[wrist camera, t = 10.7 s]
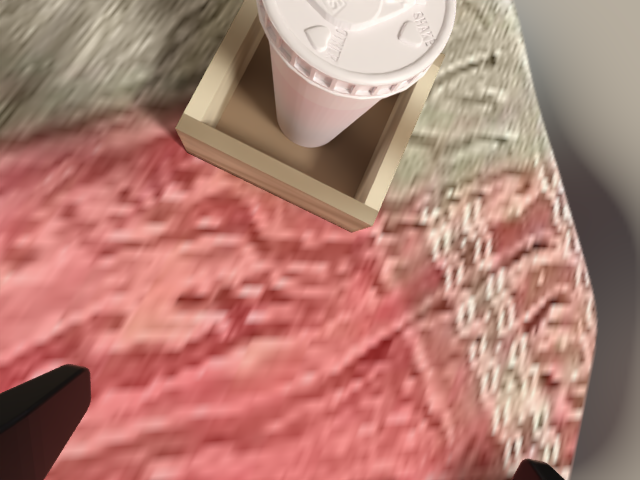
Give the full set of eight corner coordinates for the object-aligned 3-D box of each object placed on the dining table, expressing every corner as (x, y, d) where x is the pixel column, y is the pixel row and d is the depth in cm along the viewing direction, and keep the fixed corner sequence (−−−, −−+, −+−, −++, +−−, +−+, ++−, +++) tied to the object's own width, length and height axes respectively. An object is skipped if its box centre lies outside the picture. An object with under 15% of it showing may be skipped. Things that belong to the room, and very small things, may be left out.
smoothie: (249, 56, 20) (254, -409, 6) (360, 64, 21) (568, -308, 7) (253, 171, 19) (269, -57, 6) (367, 171, 21) (599, -14, 7)
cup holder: (351, 232, 21) (372, 226, 17) (187, 152, 19) (175, 128, 16) (414, 87, 22) (445, 55, 19) (266, 2, 21) (271, -50, 17)
